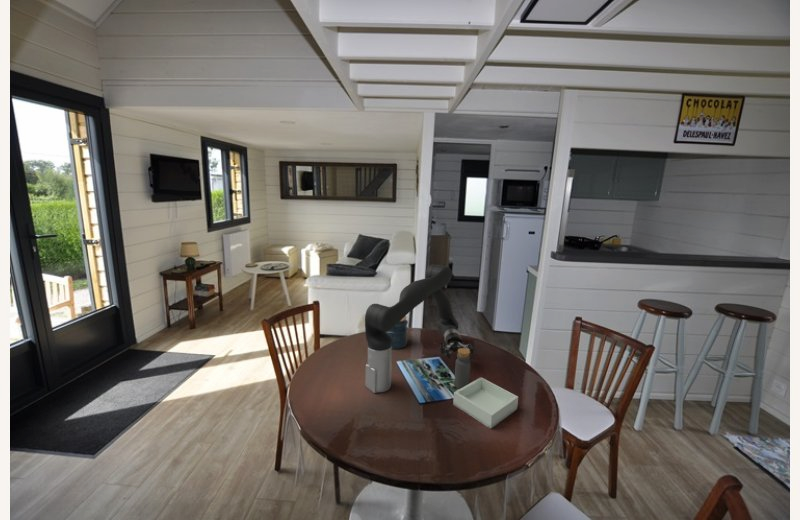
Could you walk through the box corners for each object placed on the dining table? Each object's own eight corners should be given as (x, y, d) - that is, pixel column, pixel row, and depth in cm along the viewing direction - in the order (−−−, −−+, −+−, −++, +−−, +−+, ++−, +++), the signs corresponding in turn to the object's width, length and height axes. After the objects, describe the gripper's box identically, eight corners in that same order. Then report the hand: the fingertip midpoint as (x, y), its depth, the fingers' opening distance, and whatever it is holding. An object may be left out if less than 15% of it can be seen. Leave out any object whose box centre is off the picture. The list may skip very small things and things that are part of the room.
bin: (490, 429, 107) (491, 415, 106) (453, 404, 119) (453, 392, 118) (517, 409, 118) (518, 396, 117) (480, 388, 130) (481, 377, 129)
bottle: (469, 390, 128) (471, 355, 125) (453, 388, 129) (456, 353, 126) (469, 382, 134) (471, 348, 131) (454, 380, 135) (456, 346, 132)
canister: (383, 337, 173) (384, 305, 170) (408, 338, 172) (409, 306, 169) (379, 348, 161) (380, 314, 157) (406, 350, 159) (407, 316, 156)
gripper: (438, 331, 152) (442, 347, 136) (468, 332, 152) (476, 348, 137) (437, 346, 154) (441, 364, 138) (467, 347, 154) (475, 365, 138)
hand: (459, 356), depth 137 cm, fingers open, 8 cm apart
